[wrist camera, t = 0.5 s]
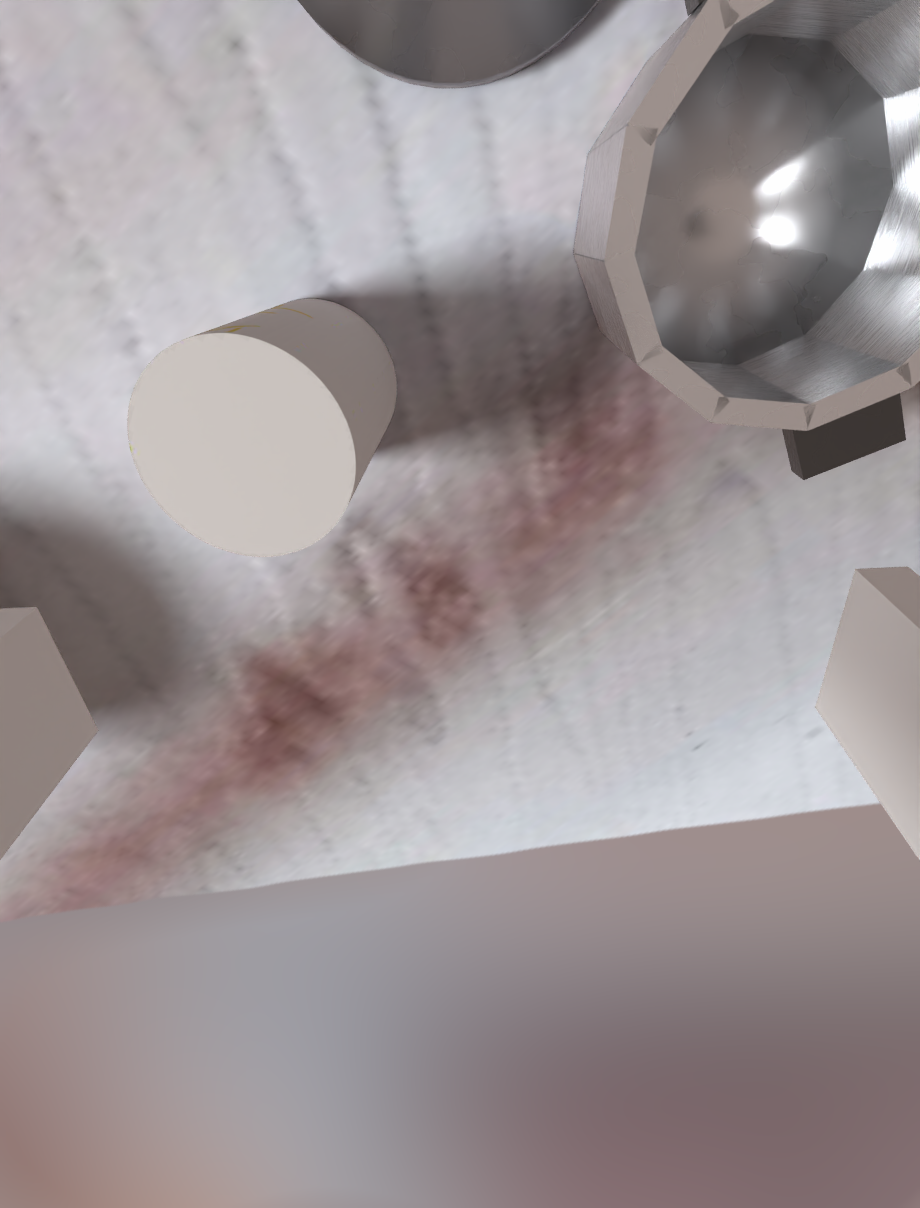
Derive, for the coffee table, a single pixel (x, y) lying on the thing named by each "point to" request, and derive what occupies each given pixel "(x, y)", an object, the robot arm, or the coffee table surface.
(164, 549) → the coffee table surface
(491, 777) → the coffee table surface
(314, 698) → the coffee table surface
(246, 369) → the beige cylinder
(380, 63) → the lid
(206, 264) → the coffee table surface
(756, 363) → the pot
